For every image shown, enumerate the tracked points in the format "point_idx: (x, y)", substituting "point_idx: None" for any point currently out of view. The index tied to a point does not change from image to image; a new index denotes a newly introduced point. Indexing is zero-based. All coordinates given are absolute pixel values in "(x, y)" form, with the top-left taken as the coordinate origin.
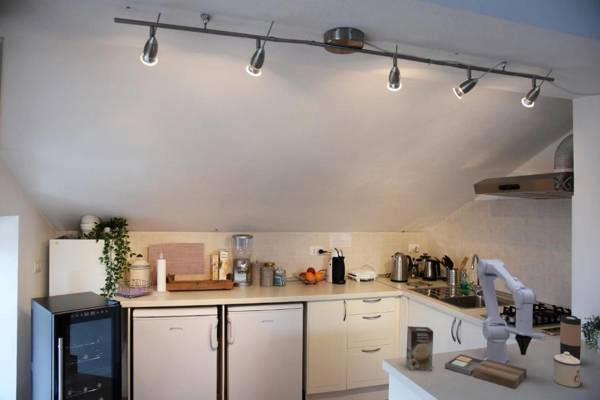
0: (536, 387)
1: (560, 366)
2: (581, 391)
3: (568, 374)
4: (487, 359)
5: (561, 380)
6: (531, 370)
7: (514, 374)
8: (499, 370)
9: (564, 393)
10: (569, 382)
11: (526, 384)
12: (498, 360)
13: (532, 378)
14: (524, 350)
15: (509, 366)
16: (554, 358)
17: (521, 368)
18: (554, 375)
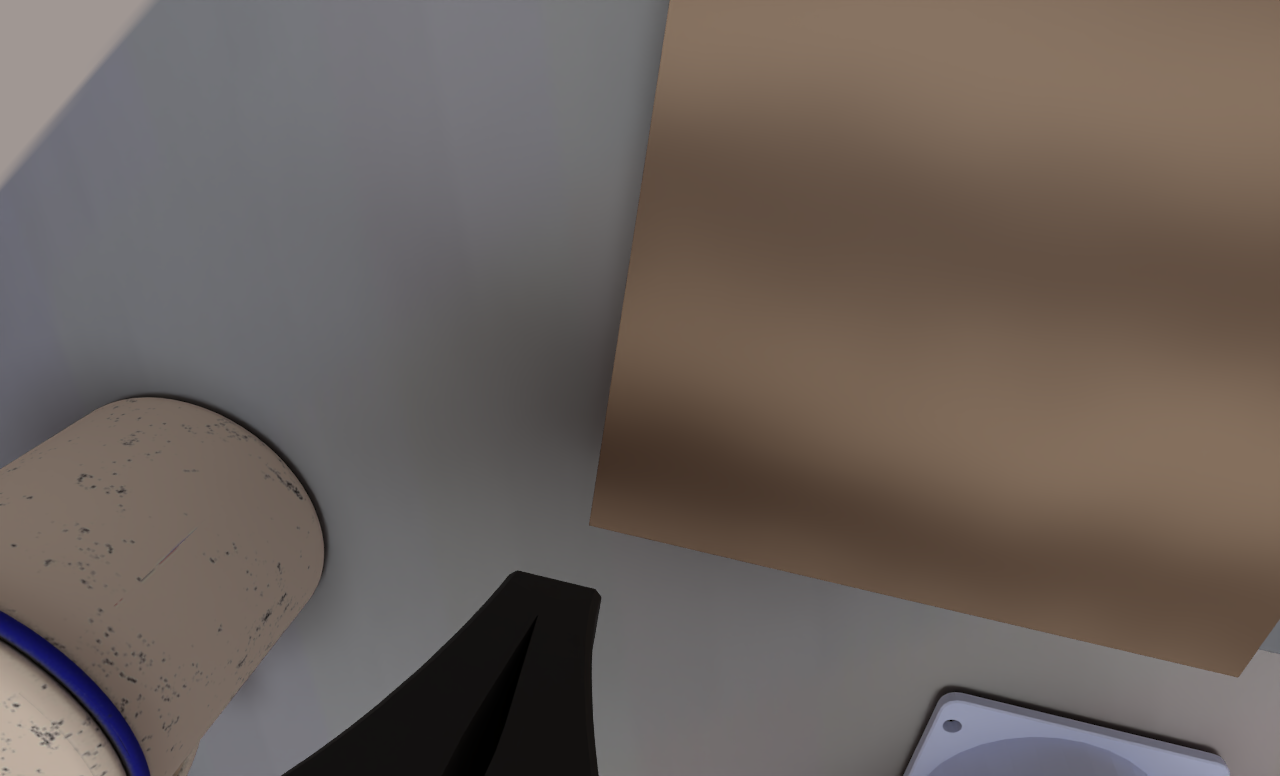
0: (430, 109)
1: (33, 564)
2: (3, 330)
3: (11, 480)
4: (1241, 647)
5: (172, 433)
6: None
7: (749, 135)
8: (1053, 187)
9: (97, 124)
10: (90, 421)
11: (574, 143)
12: (1006, 764)
13: (536, 438)
14: (456, 649)
15: (850, 505)
16: (73, 715)
17: (660, 511)
18: (258, 522)
